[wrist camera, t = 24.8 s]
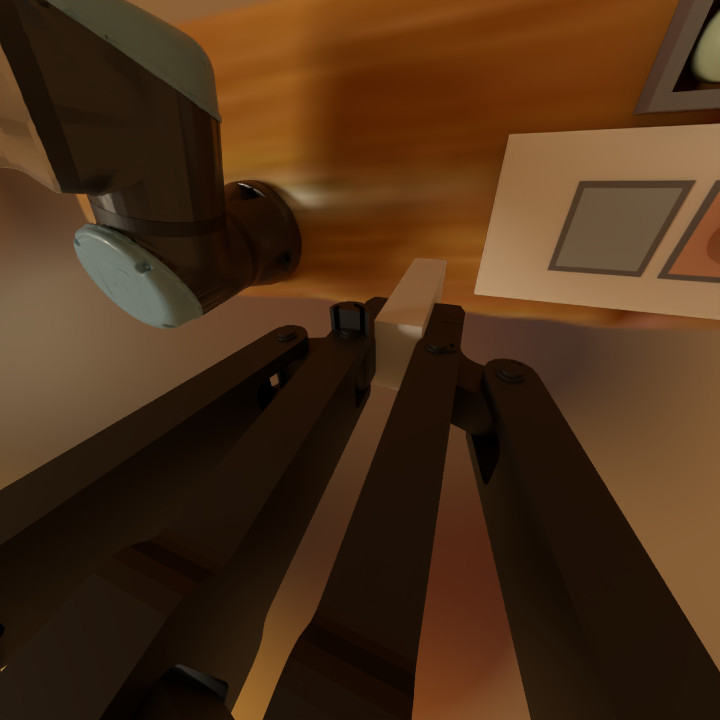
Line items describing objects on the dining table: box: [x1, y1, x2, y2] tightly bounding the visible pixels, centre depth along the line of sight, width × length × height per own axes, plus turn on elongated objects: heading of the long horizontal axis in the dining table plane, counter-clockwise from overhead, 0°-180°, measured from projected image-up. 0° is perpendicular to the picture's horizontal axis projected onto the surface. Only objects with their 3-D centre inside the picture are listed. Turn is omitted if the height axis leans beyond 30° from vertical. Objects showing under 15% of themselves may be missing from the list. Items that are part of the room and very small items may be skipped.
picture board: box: [474, 124, 720, 320], centre depth 30 cm, size 28×17×1 cm, turn 92°
